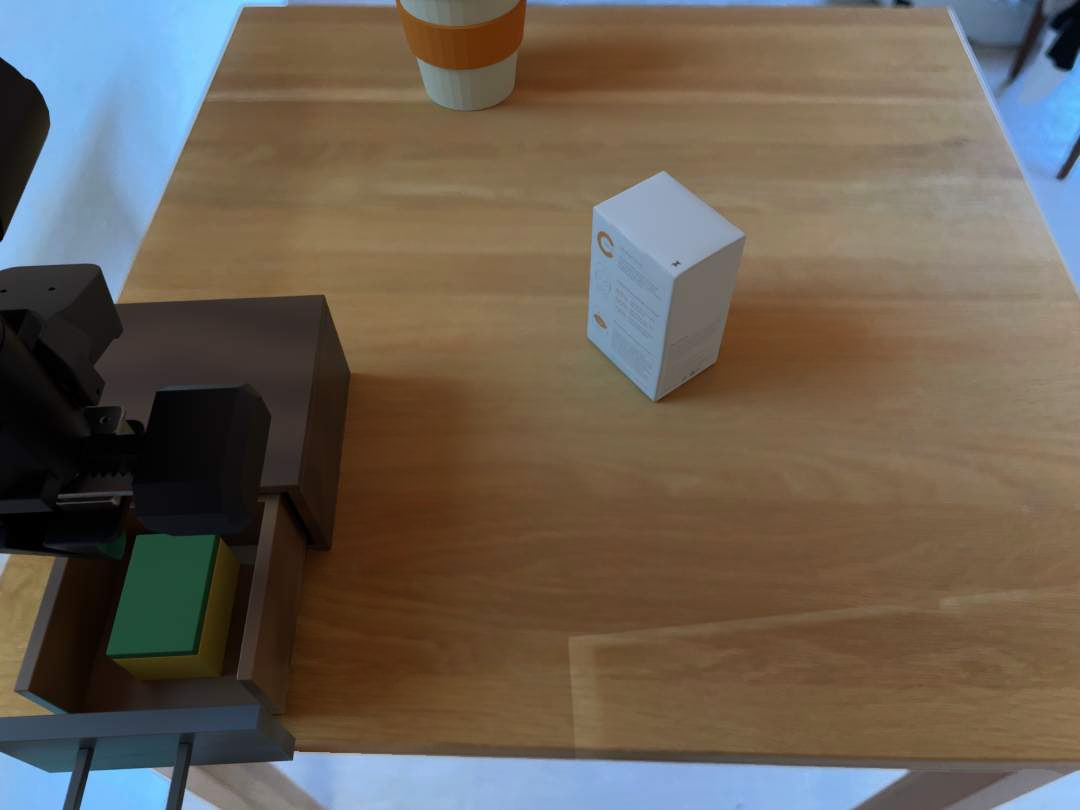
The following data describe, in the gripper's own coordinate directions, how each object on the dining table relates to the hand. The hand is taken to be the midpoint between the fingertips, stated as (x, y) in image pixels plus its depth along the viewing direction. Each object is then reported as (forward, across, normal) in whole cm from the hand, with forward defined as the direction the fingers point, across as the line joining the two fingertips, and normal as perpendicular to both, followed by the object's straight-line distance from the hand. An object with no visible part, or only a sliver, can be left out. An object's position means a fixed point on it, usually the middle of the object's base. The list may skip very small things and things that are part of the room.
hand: (116, 550), depth 41 cm
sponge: (+10, 0, 0) cm, 10 cm away
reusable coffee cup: (+13, -16, -56) cm, 59 cm away
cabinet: (+12, 0, -12) cm, 18 cm away
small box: (+13, -30, -21) cm, 39 cm away
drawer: (+11, 0, +3) cm, 12 cm away
